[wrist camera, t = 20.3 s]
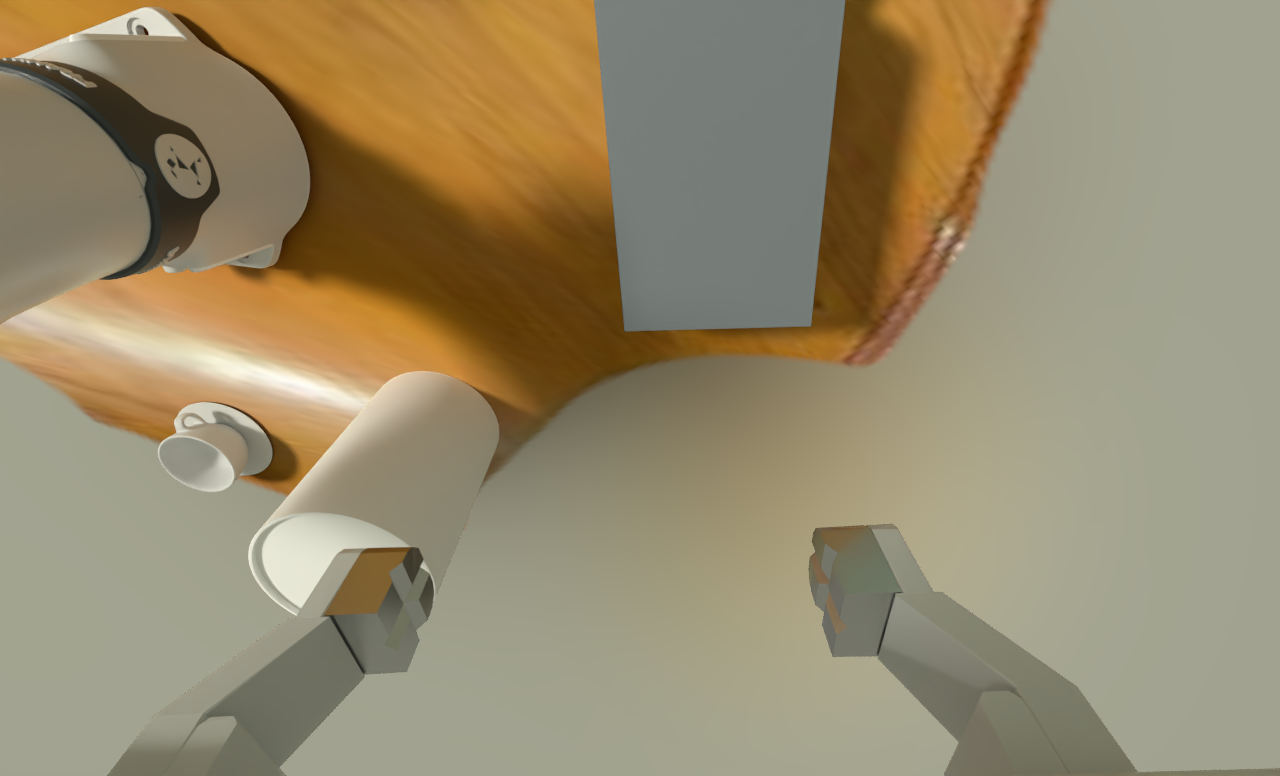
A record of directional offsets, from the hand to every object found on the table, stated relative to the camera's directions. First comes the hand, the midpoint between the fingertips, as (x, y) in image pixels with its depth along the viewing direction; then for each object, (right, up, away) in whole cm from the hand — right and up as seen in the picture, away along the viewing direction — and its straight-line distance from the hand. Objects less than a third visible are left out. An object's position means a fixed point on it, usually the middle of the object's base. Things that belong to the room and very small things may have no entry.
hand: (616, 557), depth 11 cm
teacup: (-45, -2, +47) cm, 65 cm away
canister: (-22, 0, +46) cm, 51 cm away
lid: (+6, +18, +24) cm, 31 cm away
